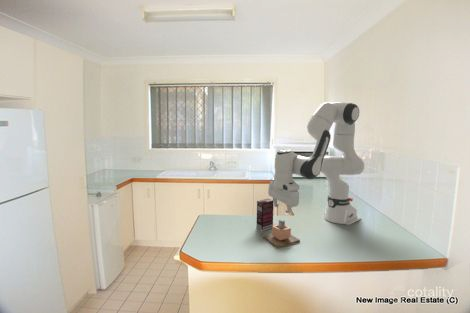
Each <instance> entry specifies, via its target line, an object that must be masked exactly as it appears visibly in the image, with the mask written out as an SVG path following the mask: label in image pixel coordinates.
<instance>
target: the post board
mask: <svg viewBox="0 0 470 313" xmlns="http://www.w3.org/2000/svg"><path fill="white" fill-rule="evenodd" d="M278 224H279V229H285V225H286V221H285V219H279V220H278ZM262 239H263V240H265V241H266V242H267V243H269V244H270V245H272V246H273V247H275V248H276V249H280V248H283V247H287V246H290V245H294V244H298V243H300V242H301V240H300V239H299V238H297V237H296V236H294V235H293V234H291V237H290V238H287V239H283V240H279V239H277V238H276V237H274V236H272V233H270V234H266V235H262Z"/></svg>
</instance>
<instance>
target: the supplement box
mask: <svg viewBox="0 0 470 313" xmlns="http://www.w3.org/2000/svg"><path fill="white" fill-rule="evenodd" d="M273 225H274V201H273V199H270V198H265V199H261V200H257V201H256V229H257V230H259V231H261V232H263V231H266V229H267V230H269V229H272V226H273Z"/></svg>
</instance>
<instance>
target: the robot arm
mask: <svg viewBox="0 0 470 313" xmlns="http://www.w3.org/2000/svg"><path fill="white" fill-rule="evenodd" d="M359 116H360V108H359V106H358V105H357V104H355V103H352V102H345V101H344V102H341V101H333V102H330V101H327V102H322V103H321V104H320V105H319V106H318V107H317V108H316V110H315V111H314V112H313V114H312V116H311V117H310V119H309V121H308V123H307V126H306V128H307V132H308V134H309V135H310V136H311V137H312V138H313V139H314V140H315V141H316V144H315V147H314V149H313V152H312V154H311V156H308V157H307V156H303V155H300V154H297V153H295V152H294V151H293V150H292V149H289V148H286V149H279V150H278V151H276V154H275V158H274V171H275V172H274V176H273V178H271V179H270V181H269V184H268V190H267V193H268V196H269V197H271V198H272V200H273V201H274V202H273V207H276V208H277V207H278V208H279V202H281V203H283V204H284V205H286V206H287V208H285V213H287V214H290V213H291V210H292V208H295V207H297V206H299V203H300V192H299V190H300V185H299V184H298V183H297V182H296V181H295V180H294V179H293V175H296V176H300V177H303V178H305V179H307V180H314V179H315V178H317V177H318V176H319V175H320V173H322V175H324V176H325V178H326V180H327V182H328V194H327V203H326V205H325V206H326V207H325V212H324V214H323V215H324V217H323V219H324V220H326V221H327V222H330V223H333V224H340V225H348V226H350V225H352V224H354V223H356V222H359V221H360V220H361V219H362V218H361V217H360V215H357V214H358V212H357V208H355V207H354V206H353V205H352V204H351V202H353V200H354V198H353V197H349V193H350V191H349V190H350V185H349V184H348V182H346V181H345V180H343V179H341V178H340V176H342V175H343V176H357V175H361V174H362V173H363V172H364V170H365V162H364V160H363V159H362V158H361V157H359V155H358V154H357V153H356V150H355V132H356V122H357V120H358V119H359ZM333 124H335V125H334V129H333V139H332V140H333V141H332V146H333V147H334V149H335V150H337V151H339V152H341V153H342V154H341V156H339V155H327V156H326V153H327V150H328V148H329V145H330V142H331V138H332V137H331V136H332V135H331V133H330V130H331V128H332V126H333ZM278 201H279V202H278Z"/></svg>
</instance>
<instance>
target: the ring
mask: <svg viewBox="0 0 470 313" xmlns="http://www.w3.org/2000/svg"><path fill="white" fill-rule="evenodd" d="M271 234H272V236H274V237H276V238H277V239H279V240H283V239H287V238H290V237H291V235H292V228H291V227H290V226H288V225H287V224H285V229H279V223H278V224H273V226H272V228H271Z"/></svg>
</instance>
